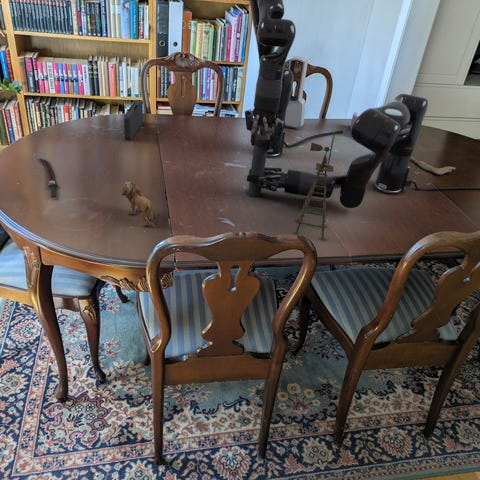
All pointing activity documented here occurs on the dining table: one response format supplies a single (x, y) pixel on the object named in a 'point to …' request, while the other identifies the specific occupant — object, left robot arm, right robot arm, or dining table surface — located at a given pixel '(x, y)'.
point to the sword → (52, 181)
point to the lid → (260, 140)
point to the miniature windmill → (320, 169)
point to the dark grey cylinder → (257, 169)
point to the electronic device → (297, 104)
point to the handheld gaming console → (133, 119)
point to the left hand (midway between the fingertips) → (260, 147)
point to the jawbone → (432, 169)
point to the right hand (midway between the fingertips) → (248, 174)
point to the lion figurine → (137, 201)
